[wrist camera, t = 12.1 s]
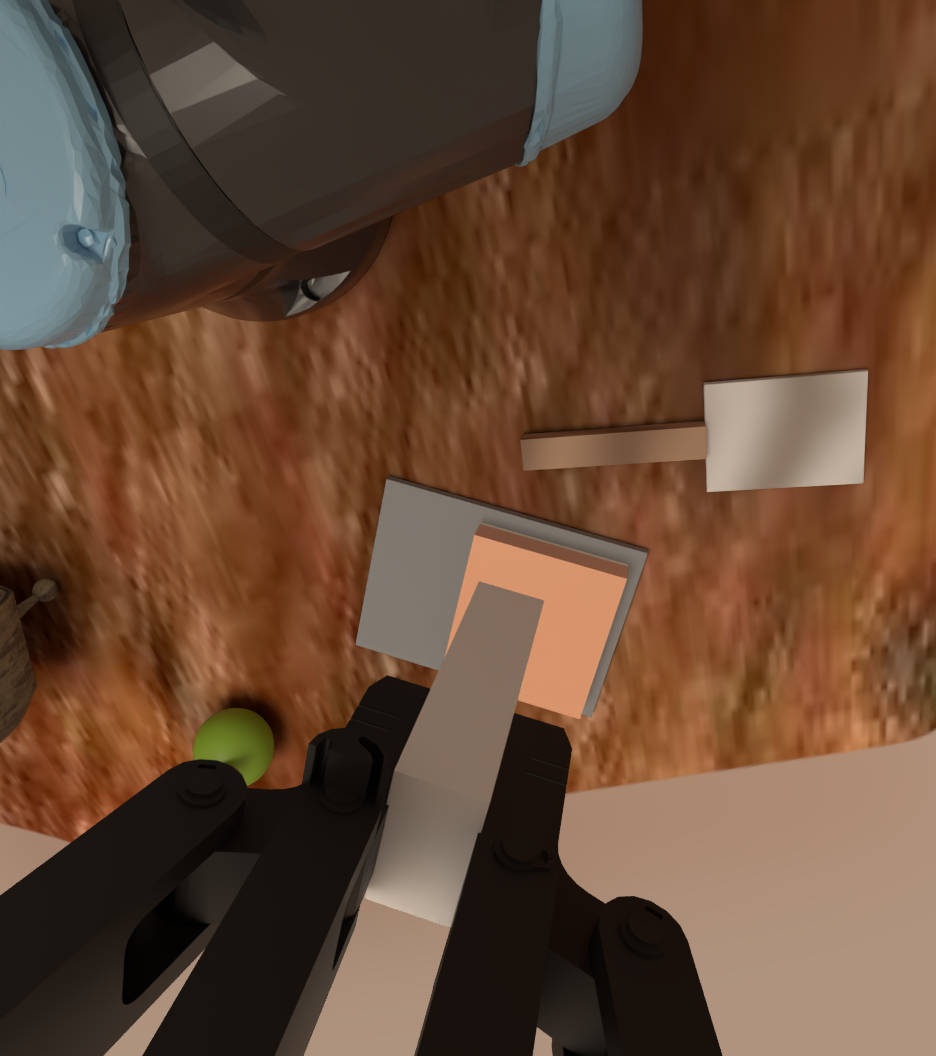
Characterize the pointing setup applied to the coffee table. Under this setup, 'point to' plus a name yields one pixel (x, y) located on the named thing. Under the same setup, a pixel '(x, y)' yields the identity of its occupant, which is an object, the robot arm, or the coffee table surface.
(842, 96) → the coffee table surface
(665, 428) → the turner
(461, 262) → the coffee table surface
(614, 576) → the tile
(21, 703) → the tabletop clock
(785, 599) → the coffee table surface
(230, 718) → the snail figurine
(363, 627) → the mat
